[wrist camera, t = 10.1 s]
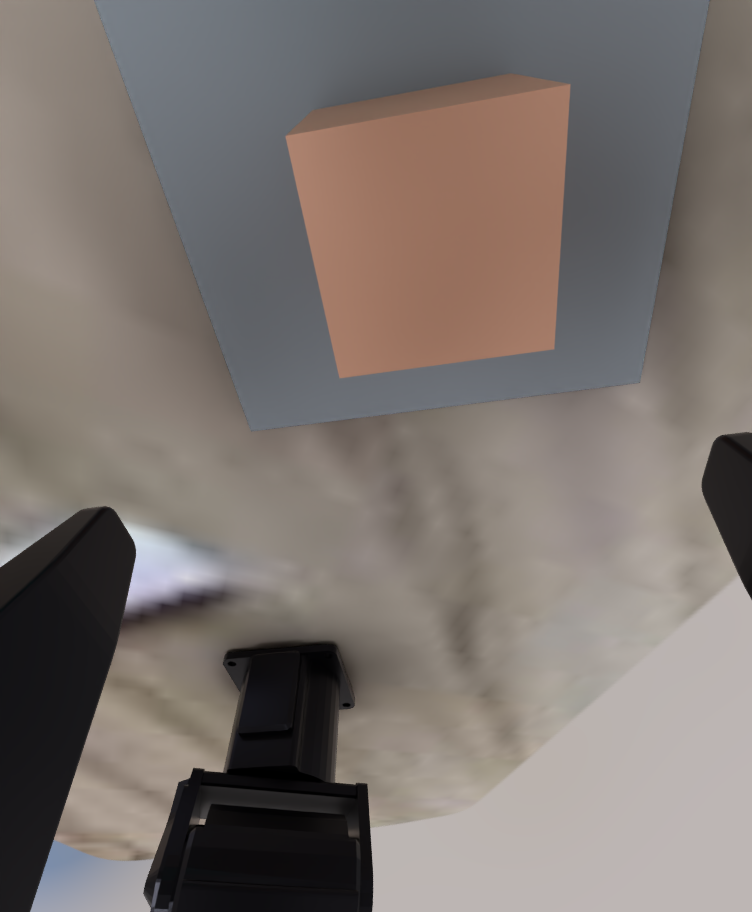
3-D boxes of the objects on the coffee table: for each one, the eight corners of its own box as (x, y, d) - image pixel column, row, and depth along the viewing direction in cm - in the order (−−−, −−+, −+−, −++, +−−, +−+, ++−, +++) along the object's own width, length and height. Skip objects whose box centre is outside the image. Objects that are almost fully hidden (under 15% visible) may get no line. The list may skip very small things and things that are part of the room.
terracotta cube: (510, 274, 16) (554, 349, 12) (348, 298, 16) (339, 378, 12) (511, 72, 13) (570, 84, 9) (312, 110, 13) (285, 135, 9)
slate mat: (633, 374, 19) (640, 382, 18) (253, 422, 20) (251, 431, 19) (741, -257, 10) (759, -272, 10) (67, -102, 11) (55, -108, 11)
